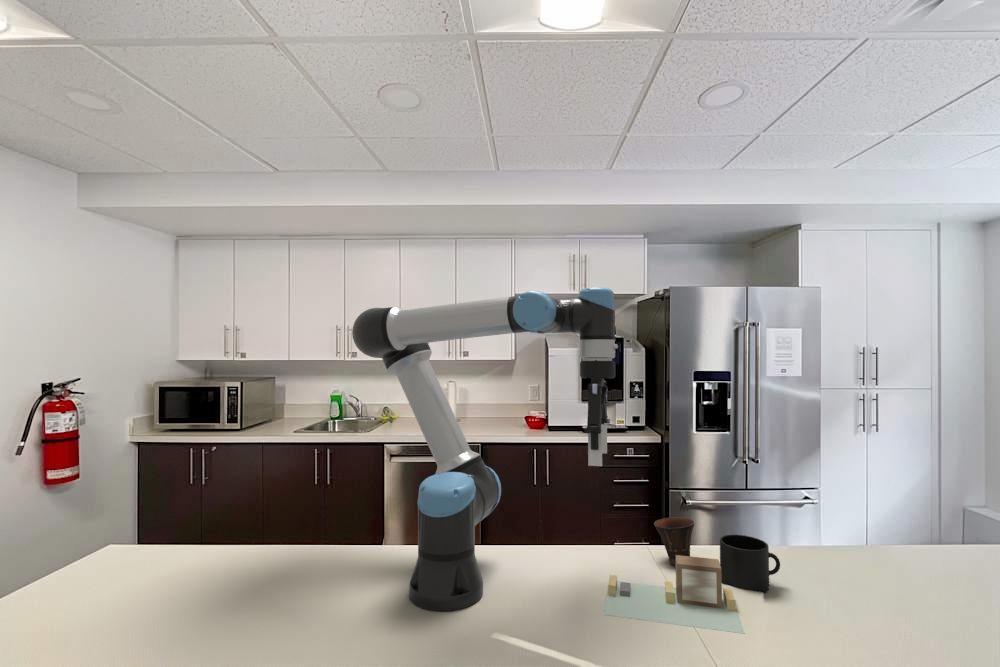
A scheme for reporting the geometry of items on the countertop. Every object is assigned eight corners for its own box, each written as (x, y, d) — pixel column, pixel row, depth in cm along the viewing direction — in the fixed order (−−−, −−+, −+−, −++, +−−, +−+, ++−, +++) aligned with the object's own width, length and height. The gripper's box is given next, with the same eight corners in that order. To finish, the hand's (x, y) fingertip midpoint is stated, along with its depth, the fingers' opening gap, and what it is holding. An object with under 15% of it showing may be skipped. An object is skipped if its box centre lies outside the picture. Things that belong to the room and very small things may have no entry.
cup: (651, 554, 127) (651, 513, 127) (690, 556, 125) (689, 514, 126) (657, 569, 118) (657, 525, 118) (698, 571, 117) (698, 527, 117)
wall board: (603, 620, 96) (603, 603, 96) (609, 585, 110) (609, 570, 110) (745, 639, 89) (744, 621, 89) (731, 599, 103) (731, 584, 104)
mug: (790, 597, 104) (789, 552, 105) (728, 594, 106) (727, 549, 106) (771, 577, 114) (770, 535, 114) (714, 574, 115) (714, 533, 116)
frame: (677, 603, 100) (676, 564, 100) (676, 592, 104) (675, 555, 105) (722, 608, 98) (721, 568, 98) (718, 597, 102) (718, 559, 102)
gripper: (611, 360, 98) (612, 473, 98) (618, 359, 122) (619, 449, 122) (572, 360, 100) (572, 470, 100) (586, 359, 124) (587, 447, 124)
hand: (598, 459), depth 111 cm, fingers open, 13 cm apart
